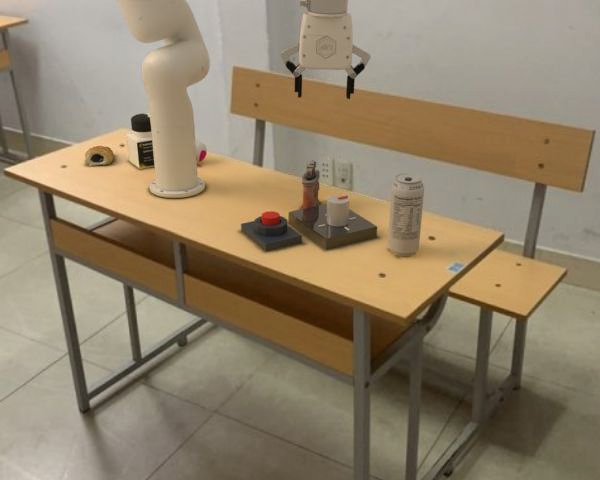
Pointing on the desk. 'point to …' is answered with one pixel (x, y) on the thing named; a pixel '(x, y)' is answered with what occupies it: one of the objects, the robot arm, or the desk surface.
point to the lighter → (310, 186)
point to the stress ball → (200, 151)
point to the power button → (270, 218)
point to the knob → (337, 210)
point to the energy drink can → (405, 214)
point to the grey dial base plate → (331, 227)
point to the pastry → (99, 156)
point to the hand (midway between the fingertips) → (323, 96)
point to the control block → (271, 234)
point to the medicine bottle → (141, 142)
